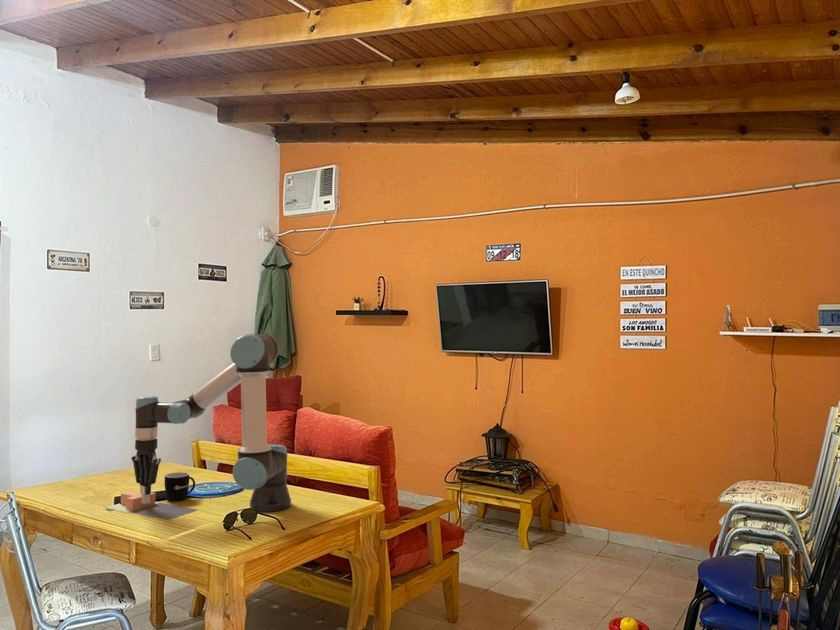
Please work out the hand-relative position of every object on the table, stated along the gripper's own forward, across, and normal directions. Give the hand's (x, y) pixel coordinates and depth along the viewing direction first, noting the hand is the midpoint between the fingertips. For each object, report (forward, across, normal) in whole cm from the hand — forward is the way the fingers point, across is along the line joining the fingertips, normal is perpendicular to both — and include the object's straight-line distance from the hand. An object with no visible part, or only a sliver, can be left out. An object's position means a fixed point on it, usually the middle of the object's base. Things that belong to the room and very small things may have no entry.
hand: (145, 503), depth 236 cm
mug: (+3, -1, -15) cm, 15 cm away
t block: (+2, +6, 0) cm, 6 cm away
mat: (+2, -3, 0) cm, 4 cm away
